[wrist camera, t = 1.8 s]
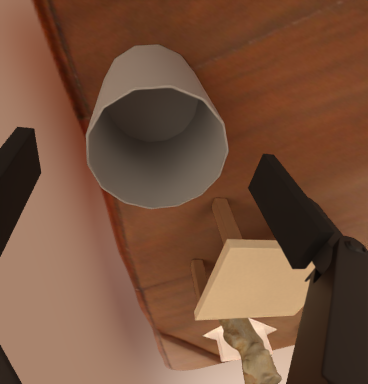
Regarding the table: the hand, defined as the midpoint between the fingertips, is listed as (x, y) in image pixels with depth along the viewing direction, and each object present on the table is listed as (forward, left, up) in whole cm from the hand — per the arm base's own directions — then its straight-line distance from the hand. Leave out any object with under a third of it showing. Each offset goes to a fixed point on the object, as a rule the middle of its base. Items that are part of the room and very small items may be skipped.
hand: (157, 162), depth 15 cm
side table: (+18, +16, -10) cm, 26 cm away
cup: (0, 0, -10) cm, 10 cm away
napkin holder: (+51, +27, -10) cm, 58 cm away
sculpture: (+32, +18, -10) cm, 38 cm away
